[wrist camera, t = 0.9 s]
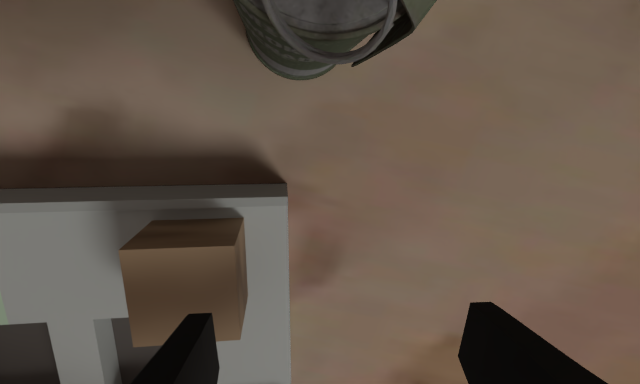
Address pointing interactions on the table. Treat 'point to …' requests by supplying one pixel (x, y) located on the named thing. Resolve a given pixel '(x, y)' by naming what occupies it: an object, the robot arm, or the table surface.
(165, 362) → the robot arm
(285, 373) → the tray
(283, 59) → the grenade
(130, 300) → the block
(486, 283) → the table surface
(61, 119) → the table surface
